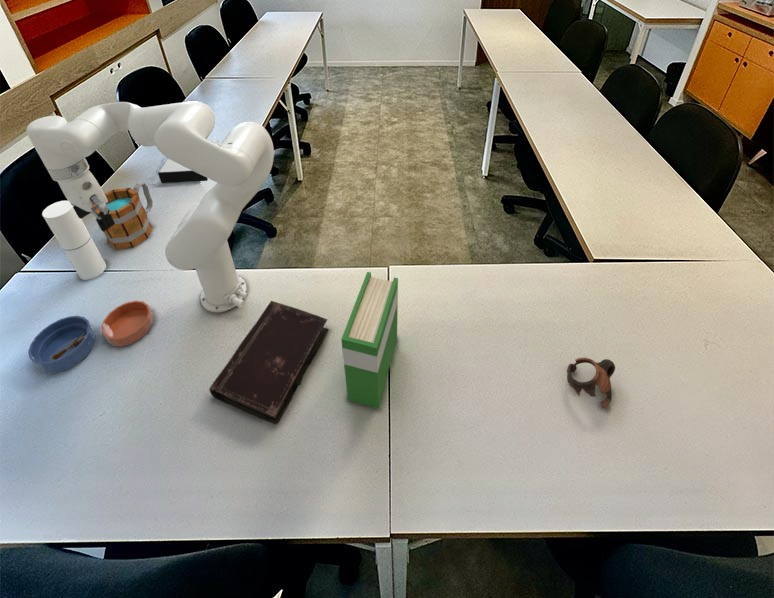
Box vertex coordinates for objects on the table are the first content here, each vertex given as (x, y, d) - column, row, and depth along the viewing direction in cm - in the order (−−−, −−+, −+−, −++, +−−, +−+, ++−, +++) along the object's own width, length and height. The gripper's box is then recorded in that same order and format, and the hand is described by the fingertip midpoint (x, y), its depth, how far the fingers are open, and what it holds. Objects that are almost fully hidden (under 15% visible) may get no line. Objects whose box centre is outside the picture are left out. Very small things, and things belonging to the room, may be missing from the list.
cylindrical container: (87, 283, 126) (50, 221, 113) (74, 273, 130) (37, 211, 116) (110, 267, 131) (78, 206, 118) (98, 258, 135) (65, 197, 121)
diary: (211, 397, 99) (206, 386, 96) (271, 310, 118) (268, 298, 116) (280, 428, 93) (277, 417, 91) (331, 331, 113) (330, 319, 110)
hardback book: (369, 332, 112) (367, 271, 99) (397, 339, 111) (397, 278, 98) (347, 400, 98) (341, 339, 85) (378, 408, 97) (376, 348, 83)
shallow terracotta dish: (162, 319, 116) (158, 312, 114) (122, 353, 108) (118, 346, 106) (136, 301, 121) (133, 294, 119) (97, 333, 113) (92, 326, 111)
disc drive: (161, 183, 166) (157, 173, 164) (180, 151, 185) (177, 142, 182) (207, 181, 168) (204, 171, 165) (221, 149, 186) (218, 140, 184)
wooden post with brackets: (90, 334, 112) (88, 339, 108) (57, 356, 108) (54, 363, 104) (86, 329, 112) (84, 334, 108) (52, 351, 108) (49, 357, 104)
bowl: (107, 340, 111) (100, 329, 109) (54, 383, 102) (45, 373, 99) (79, 318, 117) (72, 308, 114) (26, 357, 107) (17, 347, 105)
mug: (134, 252, 136) (117, 218, 128) (98, 246, 139) (79, 211, 131) (172, 212, 152) (159, 179, 144) (139, 207, 155) (125, 174, 147)
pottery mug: (599, 421, 95) (587, 396, 92) (566, 396, 103) (554, 372, 101) (632, 383, 98) (621, 358, 96) (597, 362, 107) (586, 338, 105)
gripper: (106, 168, 98) (131, 223, 108) (64, 149, 105) (91, 202, 115) (73, 186, 93) (103, 242, 102) (31, 165, 100) (62, 219, 109)
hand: (97, 221), depth 108 cm, fingers open, 9 cm apart
